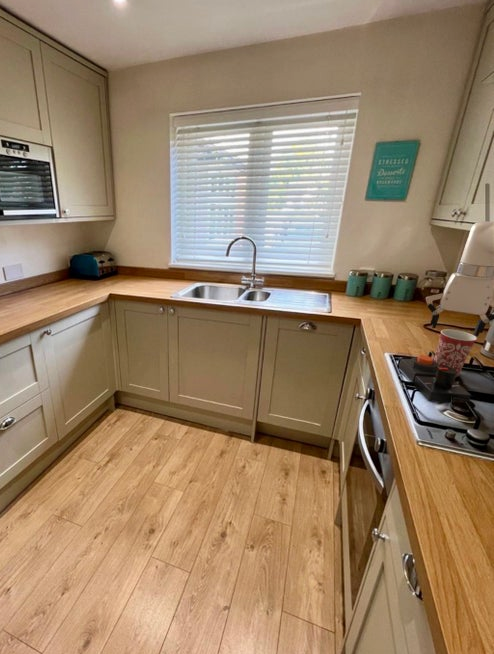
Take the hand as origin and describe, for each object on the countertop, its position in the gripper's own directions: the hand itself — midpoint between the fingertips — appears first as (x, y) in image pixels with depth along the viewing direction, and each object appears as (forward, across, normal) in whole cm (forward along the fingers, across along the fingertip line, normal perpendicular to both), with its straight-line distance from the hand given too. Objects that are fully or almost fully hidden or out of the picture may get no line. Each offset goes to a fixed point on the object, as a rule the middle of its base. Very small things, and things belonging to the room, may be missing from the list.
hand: (454, 330), depth 94 cm
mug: (+18, -2, -14) cm, 23 cm away
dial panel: (+18, -1, +5) cm, 19 cm away
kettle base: (+18, +4, -5) cm, 19 cm away
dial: (+15, -1, +5) cm, 16 cm away
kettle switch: (+13, +4, -5) cm, 15 cm away
